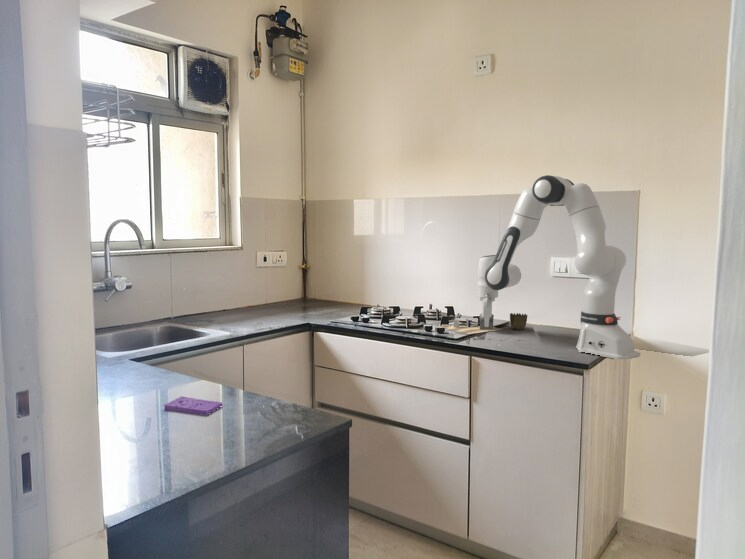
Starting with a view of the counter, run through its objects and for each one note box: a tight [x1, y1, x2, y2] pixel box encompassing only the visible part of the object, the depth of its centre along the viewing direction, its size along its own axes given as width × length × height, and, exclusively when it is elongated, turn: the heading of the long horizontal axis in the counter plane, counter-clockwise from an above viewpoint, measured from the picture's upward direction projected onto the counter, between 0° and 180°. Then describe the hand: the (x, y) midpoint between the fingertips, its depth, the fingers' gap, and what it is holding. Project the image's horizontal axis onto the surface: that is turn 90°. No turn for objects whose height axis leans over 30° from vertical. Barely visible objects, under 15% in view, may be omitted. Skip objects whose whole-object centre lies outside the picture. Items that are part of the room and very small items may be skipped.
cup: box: [509, 312, 528, 331], centre depth 245 cm, size 8×7×8 cm
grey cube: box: [479, 313, 495, 330], centre depth 246 cm, size 6×6×6 cm
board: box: [436, 324, 503, 335], centre depth 247 cm, size 20×20×2 cm
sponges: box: [163, 396, 223, 416], centre depth 143 cm, size 7×13×2 cm, turn 72°
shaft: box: [453, 319, 461, 328], centre depth 248 cm, size 2×2×3 cm
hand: (486, 324), depth 246 cm, fingers open, 8 cm apart
